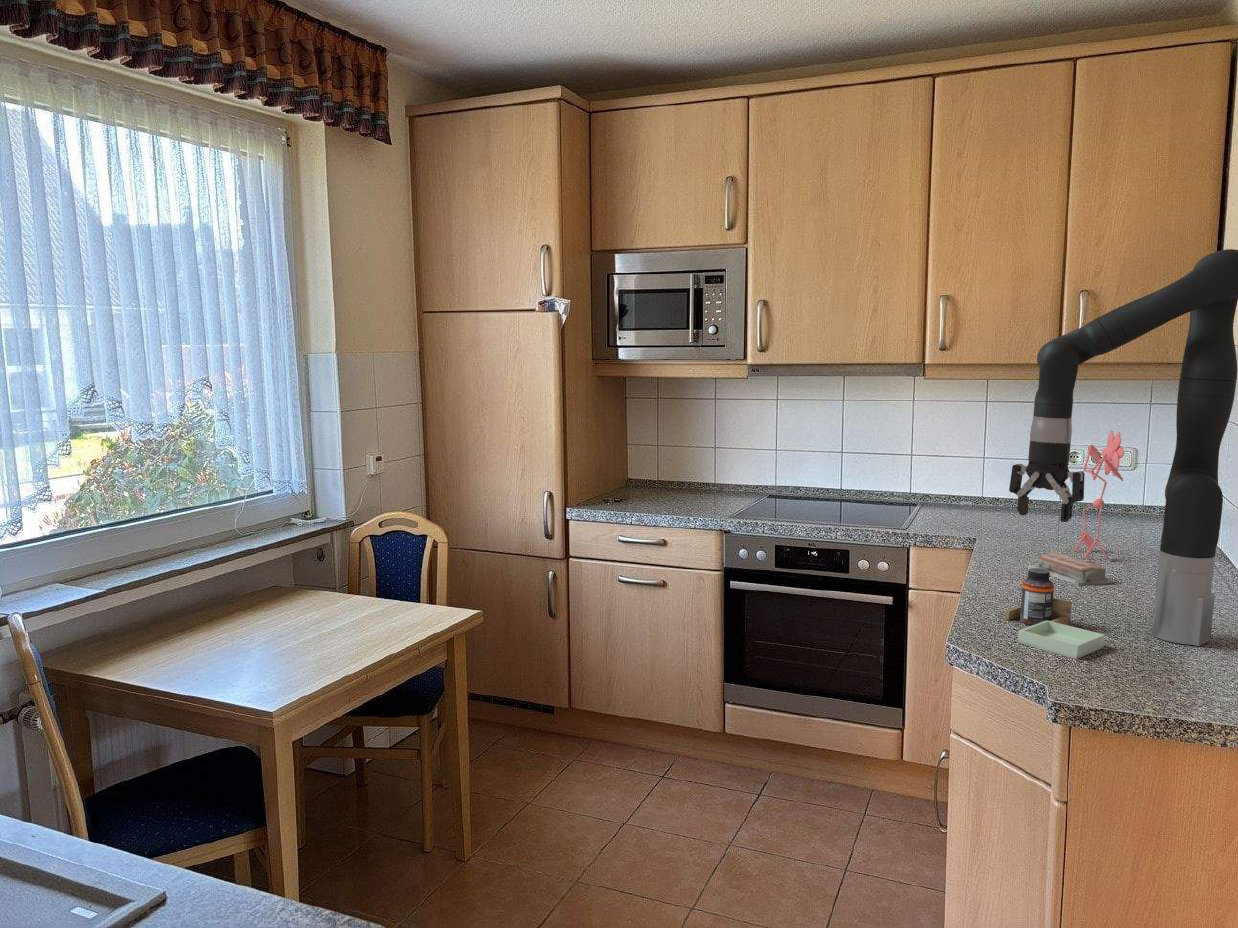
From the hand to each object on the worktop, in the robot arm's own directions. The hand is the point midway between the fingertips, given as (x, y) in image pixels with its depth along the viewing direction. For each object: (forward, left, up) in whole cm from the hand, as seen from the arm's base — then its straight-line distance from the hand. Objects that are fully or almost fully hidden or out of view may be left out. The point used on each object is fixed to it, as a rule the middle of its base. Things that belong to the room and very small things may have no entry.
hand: (1043, 518), depth 185 cm
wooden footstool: (0, 0, -22) cm, 22 cm away
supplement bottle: (0, 0, -22) cm, 22 cm away
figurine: (+19, -77, -22) cm, 82 cm away
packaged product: (+15, -47, -23) cm, 54 cm away
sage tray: (-10, +10, -22) cm, 26 cm away
